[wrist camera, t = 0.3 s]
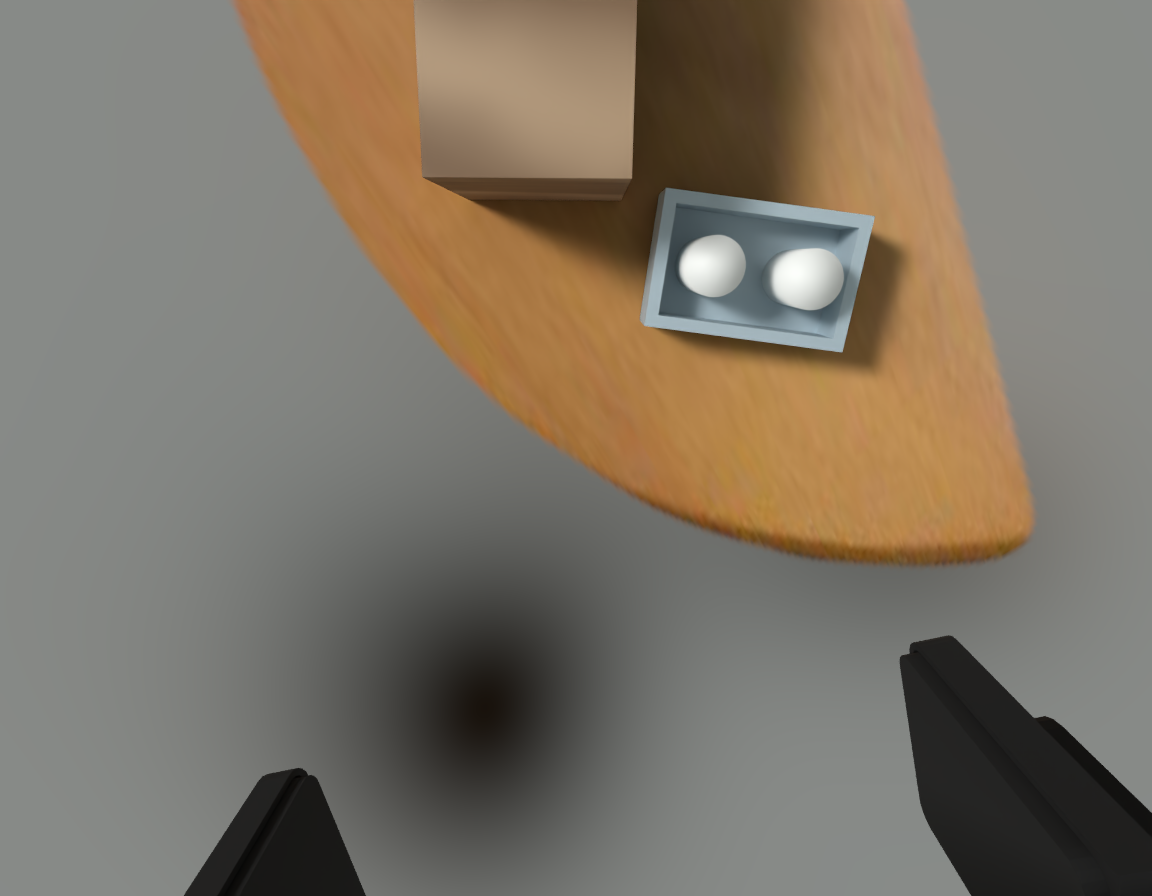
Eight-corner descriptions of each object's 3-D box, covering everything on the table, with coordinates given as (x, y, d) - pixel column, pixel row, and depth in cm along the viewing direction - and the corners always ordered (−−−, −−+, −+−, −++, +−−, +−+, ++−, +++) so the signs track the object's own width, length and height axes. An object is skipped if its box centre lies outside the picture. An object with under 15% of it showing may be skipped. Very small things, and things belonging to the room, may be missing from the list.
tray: (658, 194, 35) (669, 184, 30) (847, 220, 35) (888, 214, 30) (639, 319, 37) (646, 328, 32) (819, 344, 37) (853, 356, 32)
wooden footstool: (457, -131, 31) (398, -304, 22) (629, -131, 31) (645, -305, 22) (468, 199, 35) (422, 177, 26) (620, 200, 35) (632, 178, 25)
